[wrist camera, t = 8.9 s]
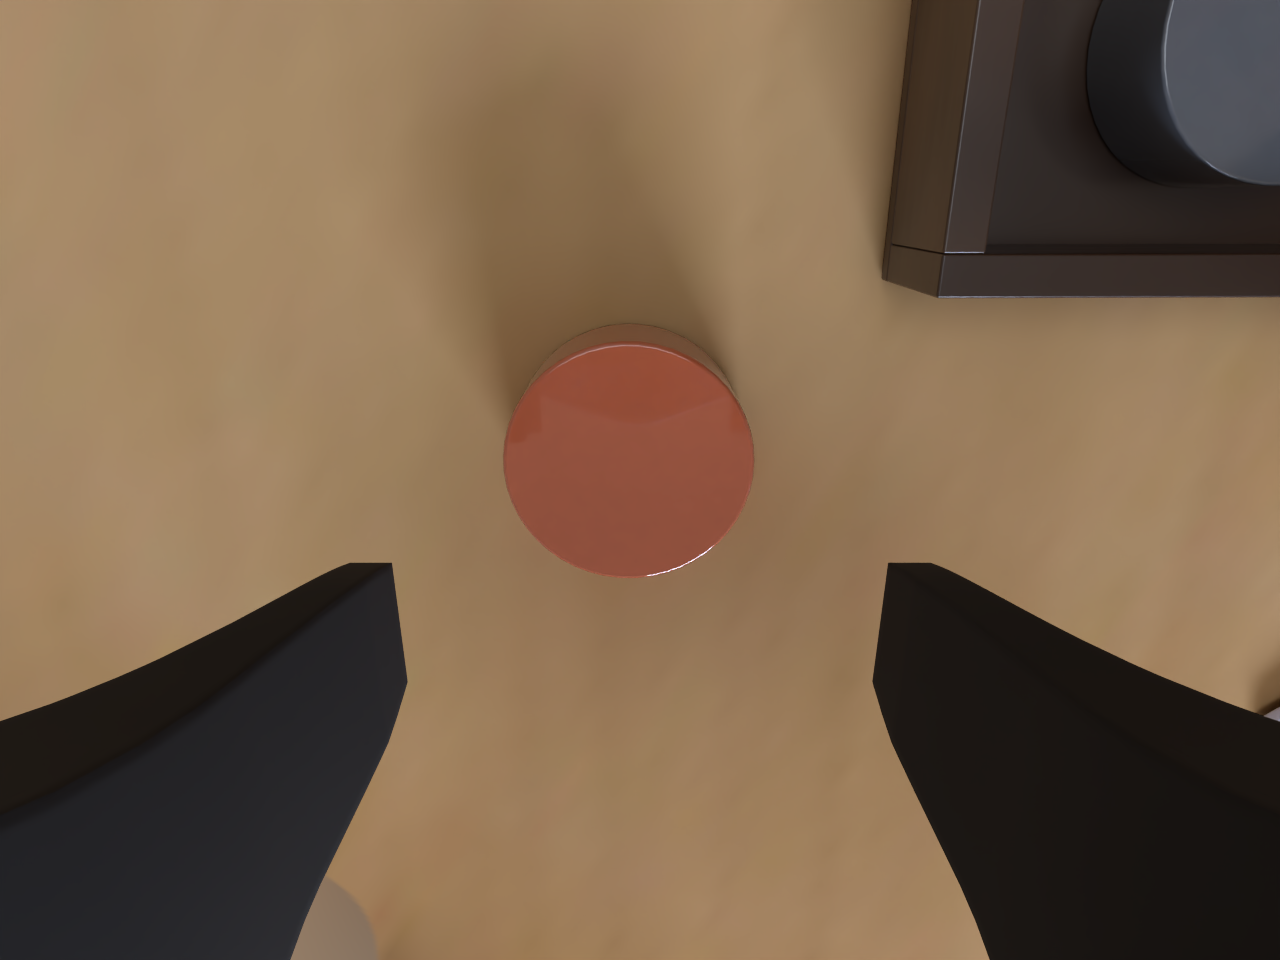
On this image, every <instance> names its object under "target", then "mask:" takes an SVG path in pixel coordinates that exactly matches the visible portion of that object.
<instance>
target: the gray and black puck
mask: <svg viewBox="0 0 1280 960" xmlns="http://www.w3.org/2000/svg"><path fill="white" fill-rule="evenodd" d="M1087 91H1088V97H1089V103H1090V108H1091V111H1092V115H1093V118H1094V121H1095V124H1096V126H1097V128H1098V130H1099V133H1100V135H1101V137H1102V139H1103V140H1104V142H1105V143H1106V145H1107V146H1108V148H1109V149H1110V151H1111V152H1112V153H1113V154H1114V155H1115V156H1116V157H1117V158H1118V159H1119V160H1120V161H1121V162H1122V163H1123V164H1124V165H1125V166H1127V167H1128V168H1129V169H1130V170H1132V171H1133V172H1134V173H1136V174H1138V175H1140V176H1142V177H1144V178H1146V179H1148V180H1150V181H1153V182H1156V183H1159V184H1162V185H1167V186H1173V187H1179V188H1217V187H1273V186H1280V0H1103V1H1102V3H1101V6H1100V8H1099V11H1098V14H1097V17H1096V20H1095V23H1094V26H1093V29H1092V34H1091V39H1090V44H1089V49H1088V59H1087Z"/></svg>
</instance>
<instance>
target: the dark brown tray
mask: <svg viewBox="0 0 1280 960" xmlns="http://www.w3.org/2000/svg"><path fill="white" fill-rule="evenodd" d="M1102 1H1103V0H912V9H911V18H910V27H909V36H908V45H907V54H906V63H905V72H904V81H903V90H902V99H901V108H900V117H899V127H898V136H897V145H896V154H895V163H894V172H893V181H892V190H891V199H890V208H889V217H888V226H887V235H886V244H885V253H884V262H883V271H882V279H883V280H885V281H889V282H891V283H895V284H898V285H901V286H904V287H907V288H910V289H913V290H916V291H919V292H922V293H925V294H928V295H931V296H934V297H937V298H1152V297H1280V186H1273V187H1217V188H1179V187H1173V186H1167V185H1162V184H1159V183H1156V182H1153V181H1150V180H1148V179H1146V178H1144V177H1142V176H1140V175H1138V174H1136V173H1134V172H1133V171H1132V170H1130V169H1129V168H1128V167H1127V166H1125V165H1124V164H1123V163H1122V162H1121V161H1120V160H1119V159H1118V158H1117V157H1116V156H1115V155H1114V154H1113V153H1112V152H1111V151H1110V149H1109V148H1108V146H1107V145H1106V143H1105V142H1104V140H1103V139H1102V137H1101V135H1100V133H1099V130H1098V128H1097V126H1096V124H1095V121H1094V118H1093V115H1092V111H1091V108H1090V103H1089V97H1088V91H1087V59H1088V49H1089V44H1090V39H1091V34H1092V29H1093V26H1094V23H1095V20H1096V17H1097V14H1098V11H1099V8H1100V6H1101V3H1102Z"/></svg>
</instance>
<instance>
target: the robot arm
mask: <svg viewBox="0 0 1280 960" xmlns="http://www.w3.org/2000/svg"><path fill="white" fill-rule="evenodd" d="M406 685H407V674H406V666H405V659H404V651H403V644H402V636H401V629H400V621H399V614H398V606H397V599H396V591H395V584H394V576H393V568H392V563H348V564H346V565H343V566H340V567H338V568H336V569H333V570H331V571H329V572H327V573H325V574H323V575H321V576H319V577H317V578H315V579H313V580H311V581H309V582H307V583H305V584H304V585H302V586H300V587H298V588H296V589H294V590H292V591H291V592H289V593H287V594H285V595H283V596H281V597H279V598H278V599H276V600H274V601H272V602H270V603H268V604H266V605H264V606H263V607H261V608H259V609H257V610H255V611H253V612H251V613H250V614H248V615H246V616H244V617H242V618H240V619H238V620H237V621H235V622H233V623H231V624H229V625H227V626H225V627H223V628H221V629H219V630H217V631H215V632H213V633H211V634H209V635H207V636H205V637H203V638H201V639H199V640H196V641H194V642H192V643H190V644H188V645H186V646H184V647H182V648H180V649H178V650H176V651H174V652H172V653H170V654H168V655H166V656H164V657H162V658H160V659H158V660H156V661H153V662H151V663H149V664H147V665H145V666H142V667H140V668H138V669H136V670H133V671H131V672H129V673H126V674H124V675H122V676H120V677H117V678H115V679H112V680H110V681H107V682H105V683H102V684H100V685H97V686H95V687H93V688H90V689H88V690H85V691H83V692H80V693H78V694H75V695H73V696H70V697H68V698H65V699H62V700H60V701H57V702H55V703H52V704H49V705H46V706H43V707H40V708H38V709H35V710H32V711H29V712H26V713H23V714H20V715H17V716H14V717H11V718H8V719H6V720H3V721H0V960H290V959H291V956H292V954H293V951H294V948H295V945H296V943H297V940H298V937H299V934H300V932H301V929H302V926H303V924H304V921H305V918H306V916H307V914H308V912H309V909H310V907H311V905H312V902H313V900H314V898H315V895H316V893H317V891H318V889H319V886H320V884H321V882H322V880H323V878H324V876H325V874H326V872H327V870H328V868H329V865H330V863H331V861H332V859H333V857H334V855H335V853H336V851H337V849H338V847H339V845H340V843H341V841H342V839H343V837H344V835H345V832H346V830H347V828H348V826H349V824H350V822H351V820H352V818H353V816H354V814H355V812H356V810H357V808H358V806H359V804H360V802H361V800H362V797H363V795H364V793H365V791H366V789H367V787H368V785H369V783H370V781H371V779H372V776H373V774H374V772H375V770H376V768H377V766H378V764H379V762H380V760H381V757H382V755H383V753H384V751H385V749H386V747H387V744H388V742H389V739H390V736H391V733H392V730H393V727H394V724H395V721H396V718H397V715H398V712H399V709H400V705H401V702H402V699H403V695H404V692H405V689H406ZM873 685H874V689H875V692H876V695H877V699H878V702H879V705H880V709H881V712H882V715H883V718H884V721H885V724H886V727H887V730H888V733H889V736H890V739H891V742H892V744H893V747H894V749H895V751H896V753H897V755H898V757H899V760H900V762H901V764H902V766H903V768H904V770H905V772H906V774H907V776H908V779H909V781H910V783H911V785H912V787H913V789H914V791H915V793H916V795H917V797H918V799H919V802H920V804H921V806H922V808H923V810H924V812H925V814H926V816H927V818H928V820H929V822H930V824H931V826H932V828H933V830H934V832H935V834H936V837H937V839H938V841H939V843H940V845H941V847H942V849H943V851H944V853H945V855H946V857H947V859H948V861H949V863H950V865H951V867H952V870H953V872H954V874H955V876H956V878H957V880H958V882H959V884H960V886H961V888H962V891H963V893H964V895H965V898H966V900H967V902H968V905H969V907H970V909H971V912H972V914H973V916H974V918H975V921H976V923H977V926H978V929H979V932H980V934H981V937H982V940H983V943H984V945H985V948H986V951H987V953H988V956H989V959H990V960H1280V707H1278V708H1276V709H1275V710H1273V711H1271V712H1269V713H1268V714H1266V715H1264V716H1262V715H1259V714H1256V713H1254V712H1251V711H1248V710H1245V709H1243V708H1240V707H1237V706H1234V705H1232V704H1229V703H1226V702H1224V701H1221V700H1218V699H1216V698H1213V697H1211V696H1208V695H1206V694H1203V693H1201V692H1198V691H1196V690H1194V689H1191V688H1189V687H1186V686H1184V685H1181V684H1179V683H1176V682H1174V681H1171V680H1169V679H1166V678H1164V677H1161V676H1159V675H1157V674H1154V673H1152V672H1150V671H1147V670H1145V669H1143V668H1141V667H1138V666H1136V665H1134V664H1132V663H1129V662H1127V661H1125V660H1123V659H1121V658H1119V657H1117V656H1115V655H1113V654H1110V653H1108V652H1106V651H1104V650H1102V649H1100V648H1098V647H1096V646H1094V645H1092V644H1089V643H1087V642H1085V641H1083V640H1081V639H1079V638H1077V637H1075V636H1073V635H1071V634H1069V633H1067V632H1065V631H1063V630H1061V629H1059V628H1057V627H1056V626H1054V625H1052V624H1050V623H1048V622H1046V621H1044V620H1042V619H1040V618H1038V617H1037V616H1035V615H1033V614H1031V613H1029V612H1027V611H1025V610H1023V609H1021V608H1020V607H1018V606H1016V605H1014V604H1012V603H1010V602H1009V601H1007V600H1005V599H1003V598H1001V597H999V596H997V595H996V594H994V593H992V592H990V591H988V590H986V589H984V588H983V587H981V586H979V585H977V584H975V583H973V582H971V581H969V580H967V579H965V578H963V577H961V576H960V575H958V574H956V573H953V572H951V571H949V570H947V569H945V568H943V567H940V566H938V565H935V564H932V563H888V569H887V576H886V584H885V591H884V599H883V606H882V614H881V621H880V629H879V636H878V644H877V652H876V659H875V667H874V674H873Z"/></svg>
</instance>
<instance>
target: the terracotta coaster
mask: <svg viewBox="0 0 1280 960" xmlns="http://www.w3.org/2000/svg"><path fill="white" fill-rule="evenodd" d="M503 464H504V475H505V481H506V486H507V489H508V492H509V495H510V498H511V501H512V503H513V506H514V508H515V510H516V512H517V514H518V516H519V517H520V519H521V520H522V522H523V523H524V525H525V526H526V528H527V529H528V530H529V531H530V532H531V534H532V535H533V536H534V537H535V538H536V539H537V540H538V541H539V542H540V543H541V544H542V545H543V546H544V547H545V548H547V549H548V550H549V551H550V552H552V553H553V554H555V555H556V556H557V557H559V558H560V559H562V560H564V561H566V562H568V563H570V564H571V565H573V566H575V567H578V568H581V569H583V570H586V571H588V572H592V573H596V574H600V575H604V576H611V577H618V578H639V577H649V576H654V575H659V574H663V573H667V572H670V571H672V570H675V569H678V568H681V567H683V566H685V565H687V564H689V563H691V562H693V561H694V560H696V559H698V558H699V557H701V556H702V555H704V554H705V553H707V552H708V551H709V550H710V549H711V548H713V547H714V546H715V545H716V544H717V543H718V542H719V541H720V540H721V539H722V538H723V537H724V536H725V535H726V534H727V533H728V532H729V530H730V529H731V527H732V526H733V525H734V523H735V522H736V520H737V519H738V517H739V515H740V513H741V511H742V509H743V508H744V506H745V503H746V500H747V498H748V495H749V492H750V488H751V484H752V479H753V472H754V446H753V440H752V435H751V431H750V427H749V425H748V422H747V419H746V416H745V414H744V412H743V410H742V408H741V406H740V404H739V402H738V400H737V398H736V396H735V394H734V392H733V390H732V388H731V386H730V384H729V382H728V380H727V378H726V377H725V375H724V374H723V372H722V371H721V369H720V368H719V367H718V365H717V364H716V363H715V362H714V361H713V360H712V359H711V358H710V357H709V356H708V354H706V353H705V352H704V351H703V350H701V349H700V348H699V347H698V346H697V345H695V344H694V343H692V342H690V341H689V340H687V339H685V338H684V337H682V336H680V335H677V334H675V333H673V332H671V331H668V330H664V329H661V328H658V327H654V326H647V325H641V324H619V325H610V326H605V327H601V328H597V329H593V330H591V331H588V332H586V333H583V334H581V335H579V336H577V337H575V338H573V339H572V340H570V341H568V342H566V343H565V344H564V345H562V346H561V347H560V348H558V349H557V350H556V351H554V352H553V353H552V354H551V355H550V356H549V357H548V358H547V359H546V360H545V361H544V363H543V364H542V365H541V366H540V368H539V369H538V370H537V372H536V373H535V375H534V376H533V378H532V380H531V382H530V383H529V385H528V387H527V389H526V390H525V392H524V394H523V395H522V397H521V399H520V401H519V403H518V404H517V406H516V408H515V410H514V412H513V414H512V417H511V420H510V422H509V425H508V428H507V433H506V437H505V441H504V452H503Z"/></svg>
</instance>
